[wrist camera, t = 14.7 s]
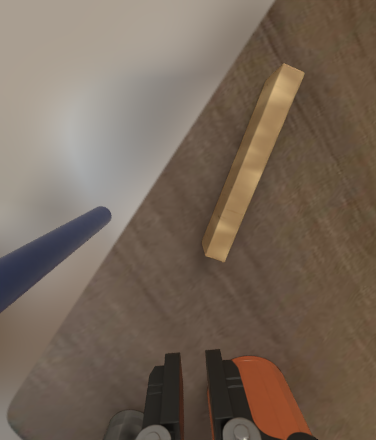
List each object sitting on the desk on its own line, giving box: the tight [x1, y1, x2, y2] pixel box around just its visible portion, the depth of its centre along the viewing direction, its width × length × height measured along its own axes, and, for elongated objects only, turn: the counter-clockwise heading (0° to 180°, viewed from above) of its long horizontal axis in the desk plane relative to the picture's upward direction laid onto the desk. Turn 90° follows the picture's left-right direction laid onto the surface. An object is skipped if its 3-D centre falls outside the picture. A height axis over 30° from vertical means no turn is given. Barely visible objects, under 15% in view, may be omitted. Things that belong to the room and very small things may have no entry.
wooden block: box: [202, 64, 304, 262], centre depth 20 cm, size 2×4×14 cm
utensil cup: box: [207, 356, 313, 440], centre depth 22 cm, size 8×8×8 cm
